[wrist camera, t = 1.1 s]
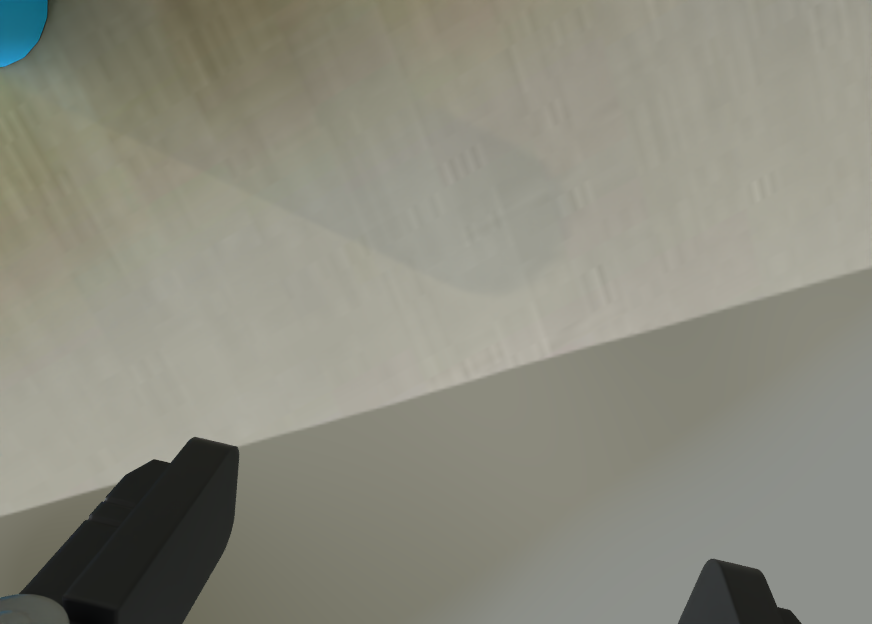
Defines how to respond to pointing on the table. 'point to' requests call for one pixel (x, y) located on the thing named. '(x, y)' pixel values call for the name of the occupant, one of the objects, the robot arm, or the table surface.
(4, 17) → the mug
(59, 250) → the table surface
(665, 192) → the table surface
